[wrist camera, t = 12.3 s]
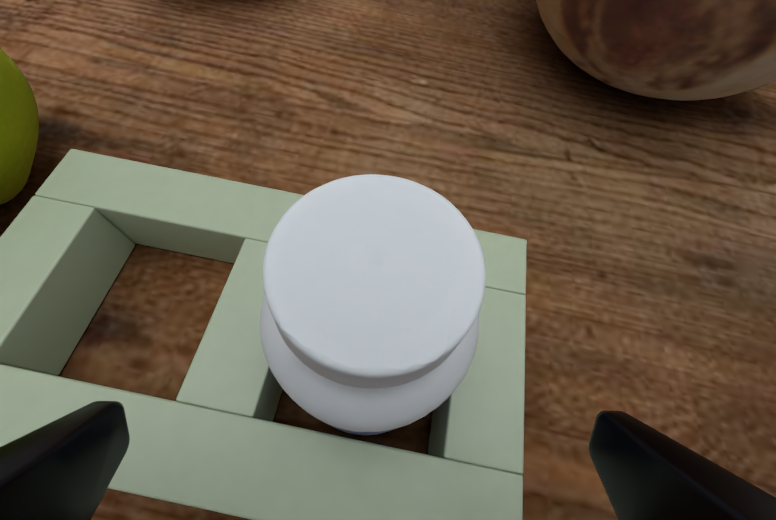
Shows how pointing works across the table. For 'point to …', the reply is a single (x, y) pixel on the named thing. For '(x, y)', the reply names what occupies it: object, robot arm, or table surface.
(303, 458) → the frame
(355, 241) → the pill bottle
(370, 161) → the table surface
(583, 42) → the clay pot
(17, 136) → the fruit
